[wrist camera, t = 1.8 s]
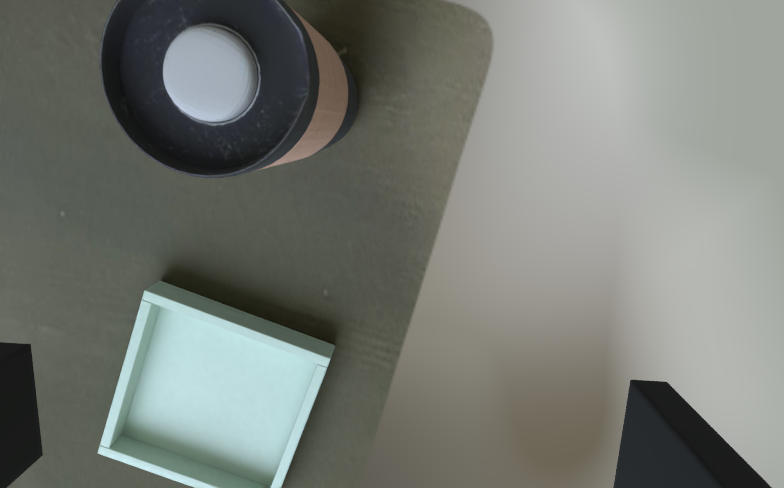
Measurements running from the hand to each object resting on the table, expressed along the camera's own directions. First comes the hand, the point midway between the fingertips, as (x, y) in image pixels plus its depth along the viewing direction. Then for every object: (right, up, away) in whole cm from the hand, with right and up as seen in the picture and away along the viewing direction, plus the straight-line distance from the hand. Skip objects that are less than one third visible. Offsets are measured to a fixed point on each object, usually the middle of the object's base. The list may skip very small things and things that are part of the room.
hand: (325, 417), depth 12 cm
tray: (-12, -8, +32) cm, 35 cm away
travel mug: (-4, +14, +27) cm, 31 cm away
